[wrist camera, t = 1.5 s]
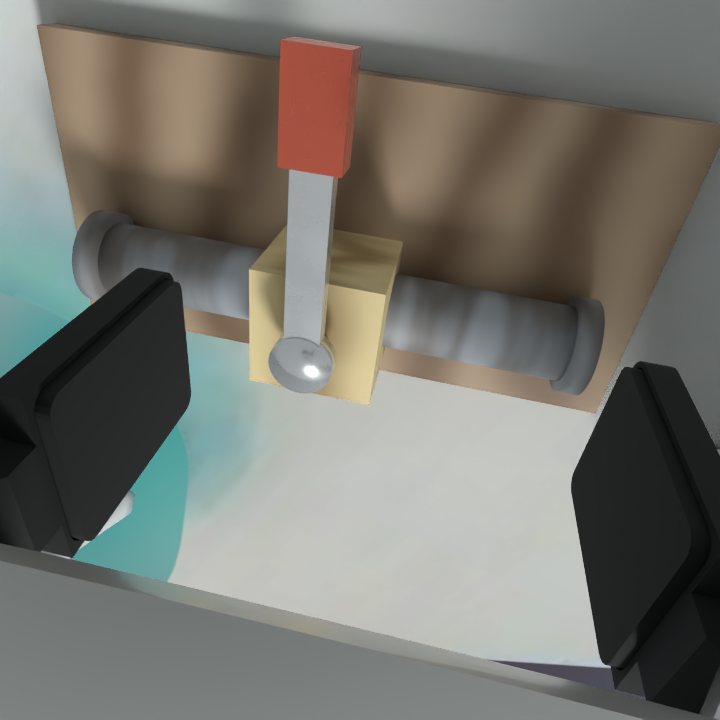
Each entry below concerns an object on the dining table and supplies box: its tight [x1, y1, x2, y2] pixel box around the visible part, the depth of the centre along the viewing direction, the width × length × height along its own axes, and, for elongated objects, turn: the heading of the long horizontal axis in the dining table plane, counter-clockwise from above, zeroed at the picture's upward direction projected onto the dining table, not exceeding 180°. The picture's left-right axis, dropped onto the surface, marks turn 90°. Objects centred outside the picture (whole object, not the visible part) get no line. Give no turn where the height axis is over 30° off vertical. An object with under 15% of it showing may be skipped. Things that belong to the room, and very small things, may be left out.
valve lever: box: [268, 36, 362, 393], centre depth 24 cm, size 16×3×2 cm, turn 174°
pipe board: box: [37, 24, 720, 413], centre depth 31 cm, size 36×18×10 cm, turn 84°
